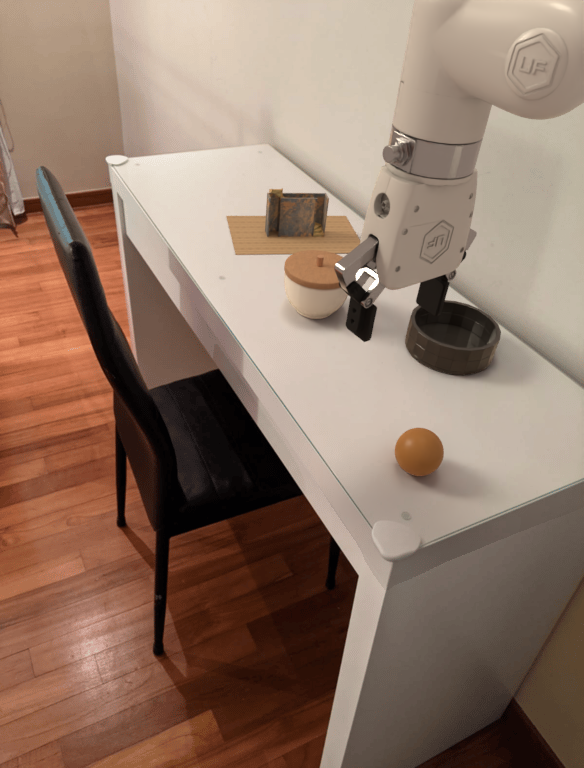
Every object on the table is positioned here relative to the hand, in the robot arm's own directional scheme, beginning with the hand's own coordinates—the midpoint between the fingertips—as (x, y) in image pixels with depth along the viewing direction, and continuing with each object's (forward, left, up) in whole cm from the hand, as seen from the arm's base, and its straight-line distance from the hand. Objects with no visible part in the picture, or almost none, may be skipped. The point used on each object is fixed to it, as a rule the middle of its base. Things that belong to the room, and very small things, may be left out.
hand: (394, 321), depth 62 cm
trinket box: (+16, -28, -19) cm, 37 cm away
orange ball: (-6, 0, -19) cm, 20 cm away
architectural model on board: (+28, -52, -19) cm, 62 cm away
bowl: (-6, -27, -19) cm, 33 cm away
